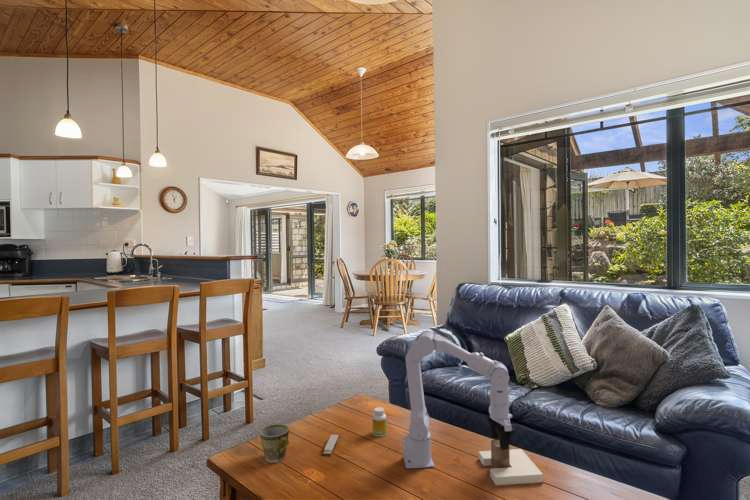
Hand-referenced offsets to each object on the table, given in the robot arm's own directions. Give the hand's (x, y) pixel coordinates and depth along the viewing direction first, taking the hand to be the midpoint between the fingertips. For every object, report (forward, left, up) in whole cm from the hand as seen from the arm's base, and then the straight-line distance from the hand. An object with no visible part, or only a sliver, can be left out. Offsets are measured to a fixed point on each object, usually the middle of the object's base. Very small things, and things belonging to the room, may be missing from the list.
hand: (499, 443), depth 133 cm
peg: (0, 0, -9) cm, 9 cm away
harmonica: (-55, +23, -10) cm, 61 cm away
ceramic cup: (-74, +15, -9) cm, 76 cm away
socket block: (+3, 0, -9) cm, 9 cm away
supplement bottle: (-37, +30, -9) cm, 48 cm away
